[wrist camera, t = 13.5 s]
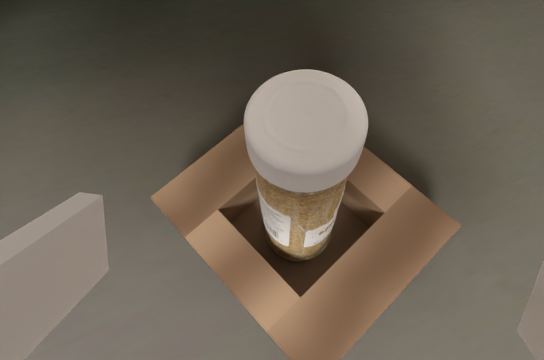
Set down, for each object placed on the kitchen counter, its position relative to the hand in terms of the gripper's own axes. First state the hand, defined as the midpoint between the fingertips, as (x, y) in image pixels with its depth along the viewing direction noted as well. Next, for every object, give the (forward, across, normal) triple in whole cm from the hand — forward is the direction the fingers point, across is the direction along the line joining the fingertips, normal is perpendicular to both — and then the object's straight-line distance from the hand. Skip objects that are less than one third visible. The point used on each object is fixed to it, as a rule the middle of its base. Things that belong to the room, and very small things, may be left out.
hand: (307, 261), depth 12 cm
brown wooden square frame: (+14, 0, -7) cm, 16 cm away
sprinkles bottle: (+13, -1, -6) cm, 14 cm away
